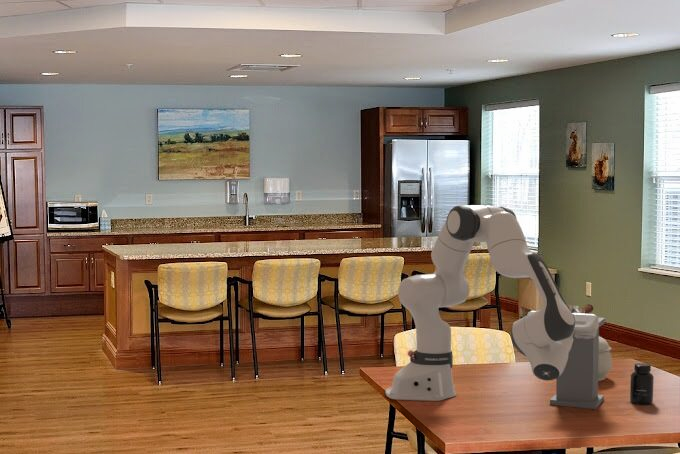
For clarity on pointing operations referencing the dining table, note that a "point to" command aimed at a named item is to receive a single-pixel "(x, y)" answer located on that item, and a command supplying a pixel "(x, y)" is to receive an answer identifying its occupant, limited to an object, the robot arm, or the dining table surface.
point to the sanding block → (579, 309)
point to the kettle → (601, 352)
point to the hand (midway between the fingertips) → (566, 307)
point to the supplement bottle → (641, 385)
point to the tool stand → (580, 375)
